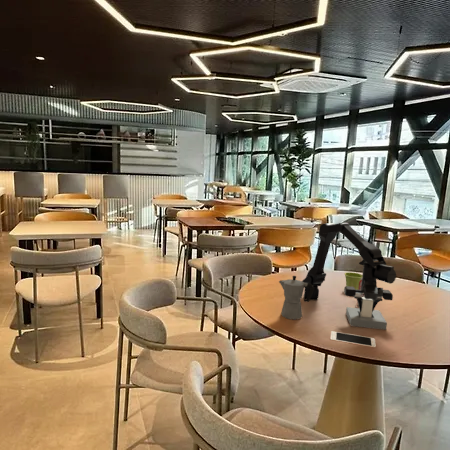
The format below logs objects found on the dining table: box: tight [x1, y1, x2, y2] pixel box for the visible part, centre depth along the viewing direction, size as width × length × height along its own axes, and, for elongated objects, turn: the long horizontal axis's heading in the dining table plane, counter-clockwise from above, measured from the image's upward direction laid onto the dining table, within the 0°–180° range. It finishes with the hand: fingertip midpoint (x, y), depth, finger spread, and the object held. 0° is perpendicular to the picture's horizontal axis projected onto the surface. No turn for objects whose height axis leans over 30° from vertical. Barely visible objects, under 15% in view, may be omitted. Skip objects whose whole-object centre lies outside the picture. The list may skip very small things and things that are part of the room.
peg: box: [360, 297, 373, 318], centre depth 159 cm, size 4×4×9 cm
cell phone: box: [330, 330, 377, 348], centre depth 142 cm, size 8×16×1 cm, turn 72°
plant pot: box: [344, 271, 362, 290], centre depth 202 cm, size 9×9×9 cm
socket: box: [345, 306, 388, 331], centre depth 160 cm, size 14×14×3 cm
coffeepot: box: [278, 275, 314, 321], centre depth 161 cm, size 15×9×18 cm, turn 68°
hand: (365, 312), depth 159 cm, fingers closed on peg, 4 cm apart
